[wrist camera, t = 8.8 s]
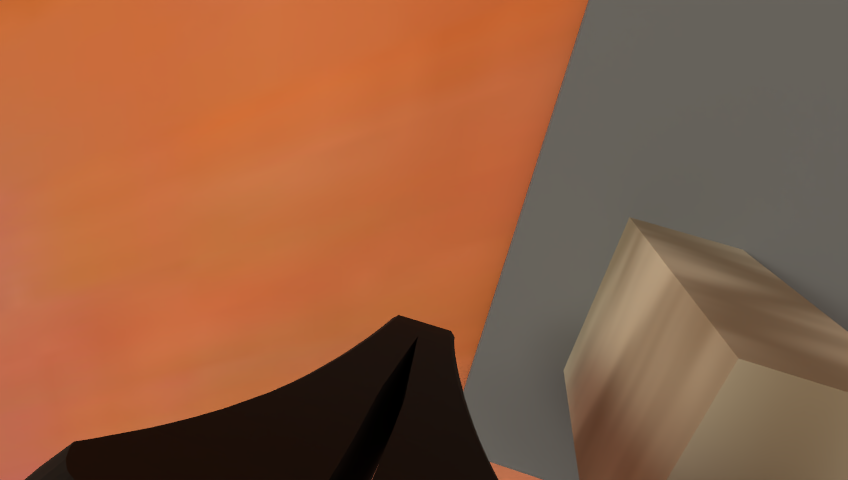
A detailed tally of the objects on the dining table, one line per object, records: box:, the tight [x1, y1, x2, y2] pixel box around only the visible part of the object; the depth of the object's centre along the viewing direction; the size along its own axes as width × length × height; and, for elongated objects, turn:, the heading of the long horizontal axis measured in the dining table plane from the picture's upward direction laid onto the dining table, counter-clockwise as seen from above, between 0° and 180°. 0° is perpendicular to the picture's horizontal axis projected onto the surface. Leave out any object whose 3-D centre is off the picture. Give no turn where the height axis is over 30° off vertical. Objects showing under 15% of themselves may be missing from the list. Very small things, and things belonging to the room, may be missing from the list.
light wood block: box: [564, 217, 848, 480], centre depth 12 cm, size 4×6×8 cm, turn 166°
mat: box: [463, 0, 848, 480], centre depth 15 cm, size 18×20×1 cm
